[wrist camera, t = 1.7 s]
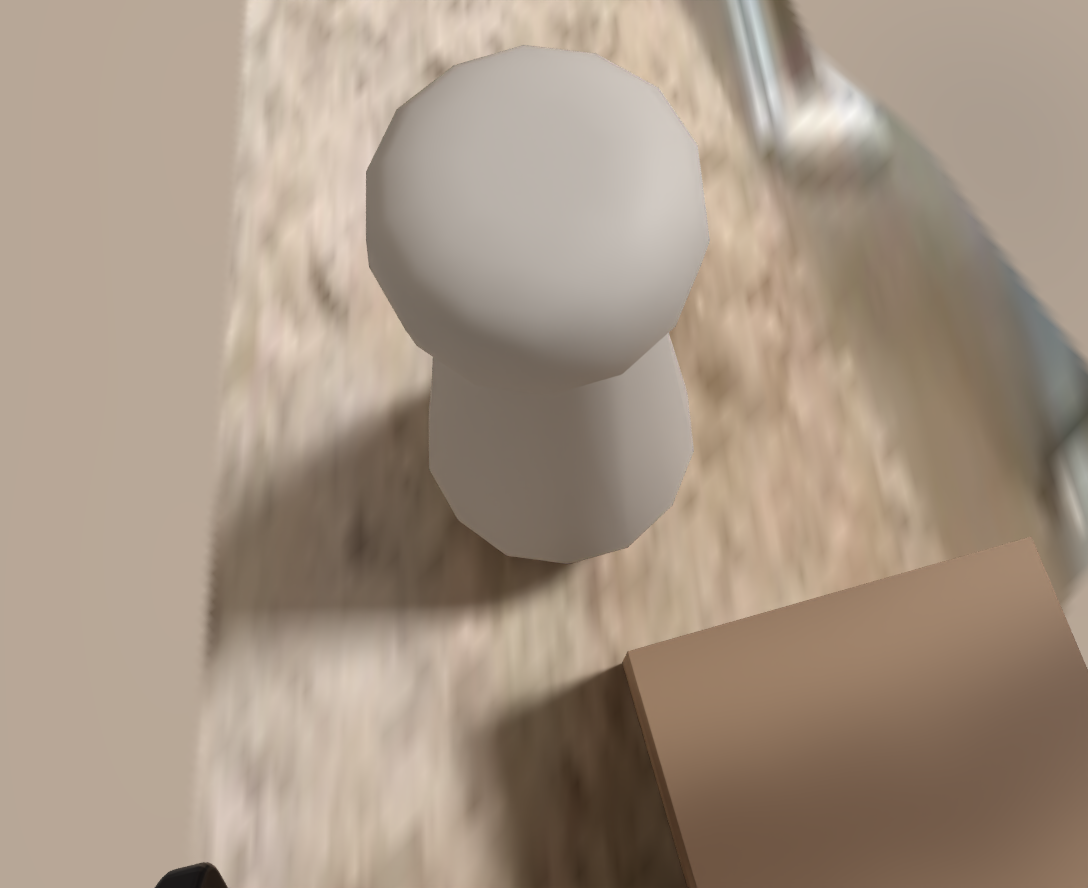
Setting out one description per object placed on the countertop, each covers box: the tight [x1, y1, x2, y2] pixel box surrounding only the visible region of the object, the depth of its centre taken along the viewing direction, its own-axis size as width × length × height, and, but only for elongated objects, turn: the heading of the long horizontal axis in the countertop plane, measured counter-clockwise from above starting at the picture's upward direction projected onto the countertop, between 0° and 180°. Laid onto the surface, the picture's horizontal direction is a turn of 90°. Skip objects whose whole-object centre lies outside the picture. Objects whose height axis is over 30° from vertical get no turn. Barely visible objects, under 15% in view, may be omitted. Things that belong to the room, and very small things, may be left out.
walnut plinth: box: [622, 537, 1088, 888], centre depth 19 cm, size 8×8×4 cm
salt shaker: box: [366, 45, 710, 564], centre depth 17 cm, size 6×6×13 cm
